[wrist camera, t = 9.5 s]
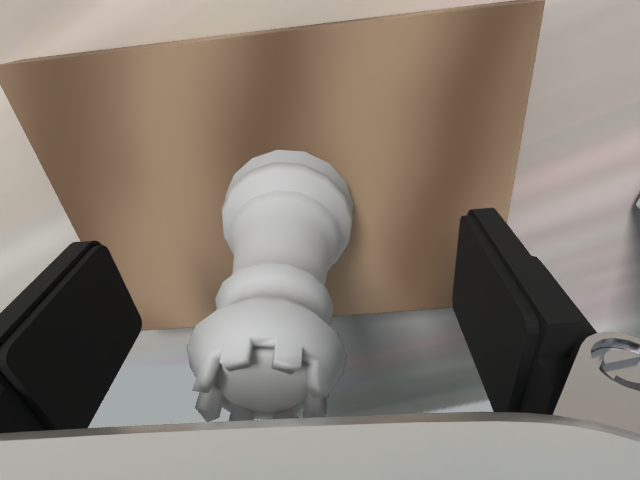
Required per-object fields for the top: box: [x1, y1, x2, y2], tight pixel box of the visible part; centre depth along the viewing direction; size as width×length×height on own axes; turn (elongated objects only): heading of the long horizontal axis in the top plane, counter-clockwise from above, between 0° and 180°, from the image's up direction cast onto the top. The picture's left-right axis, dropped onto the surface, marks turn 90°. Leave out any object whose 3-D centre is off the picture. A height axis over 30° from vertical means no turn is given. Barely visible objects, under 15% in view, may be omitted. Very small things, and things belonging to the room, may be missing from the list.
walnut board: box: [0, 0, 545, 331], centre depth 15 cm, size 16×11×2 cm
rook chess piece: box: [187, 150, 353, 422], centre depth 11 cm, size 4×4×8 cm
